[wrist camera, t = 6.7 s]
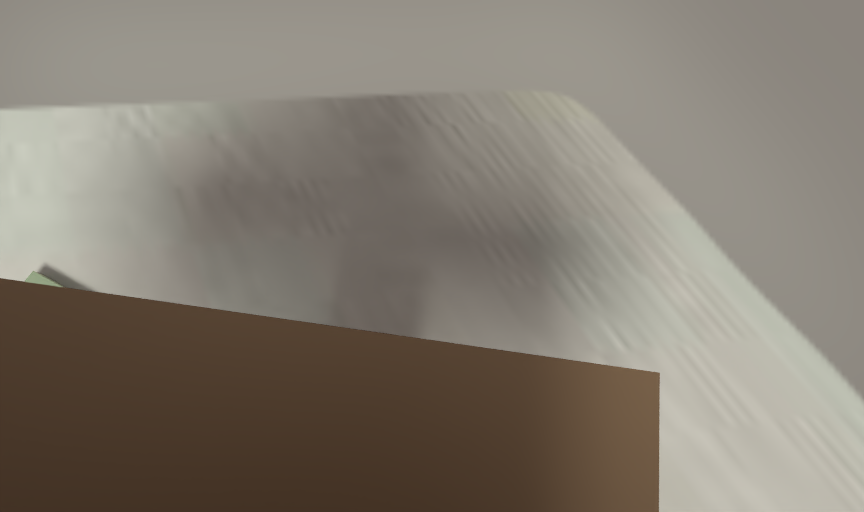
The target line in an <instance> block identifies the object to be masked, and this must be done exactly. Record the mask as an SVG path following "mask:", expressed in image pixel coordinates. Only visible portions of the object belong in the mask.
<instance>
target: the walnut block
mask: <svg viewBox="0 0 864 512" xmlns="http://www.w3.org/2000/svg"><path fill="white" fill-rule="evenodd" d="M659 384H660V373H657V372H650V371H643V370H636V369H629V368H622V367H615V366H608V365H601V364H594V363H587V362H580V361H573V360H566V359H559V358H552V357H545V356H538V355H531V354H524V353H517V352H510V351H503V350H497V349H490V348H483V347H476V346H469V345H462V344H455V343H448V342H441V341H434V340H427V339H420V338H413V337H406V336H399V335H392V334H385V333H378V332H371V331H364V330H357V329H350V328H343V327H336V326H329V325H322V324H315V323H308V322H301V321H294V320H287V319H280V318H273V317H266V316H259V315H252V314H245V313H239V312H232V311H225V310H218V309H211V308H204V307H197V306H190V305H183V304H176V303H169V302H162V301H155V300H148V299H141V298H134V297H127V296H120V295H113V294H106V293H99V292H92V291H85V290H78V289H71V288H64V287H57V286H50V285H43V284H36V283H29V282H22V281H15V280H8V279H1V278H0V512H659Z"/></svg>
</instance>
